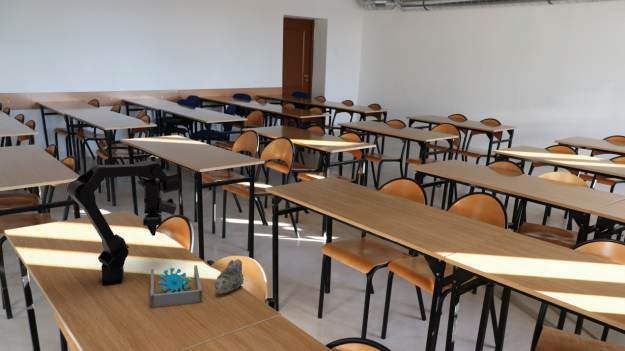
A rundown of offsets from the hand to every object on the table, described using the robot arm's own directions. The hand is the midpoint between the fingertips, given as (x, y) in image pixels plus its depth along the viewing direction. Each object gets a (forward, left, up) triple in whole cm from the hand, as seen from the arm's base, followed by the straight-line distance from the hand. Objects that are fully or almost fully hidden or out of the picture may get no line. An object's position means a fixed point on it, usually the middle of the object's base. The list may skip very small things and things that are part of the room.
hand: (153, 235), depth 172 cm
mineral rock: (+25, -22, -13) cm, 35 cm away
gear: (+7, -21, -13) cm, 26 cm away
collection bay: (+7, -20, -13) cm, 25 cm away
